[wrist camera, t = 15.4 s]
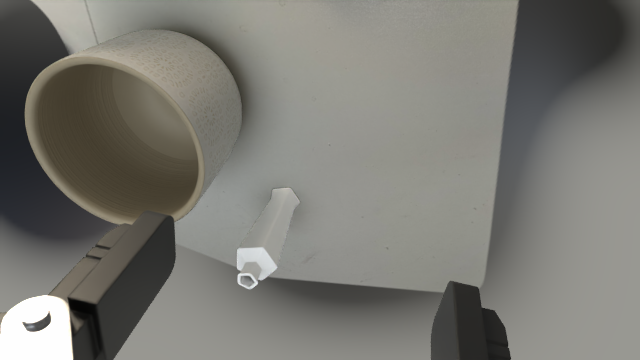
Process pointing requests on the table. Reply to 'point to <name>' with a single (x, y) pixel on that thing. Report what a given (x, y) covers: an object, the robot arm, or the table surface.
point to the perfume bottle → (266, 238)
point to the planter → (135, 124)
